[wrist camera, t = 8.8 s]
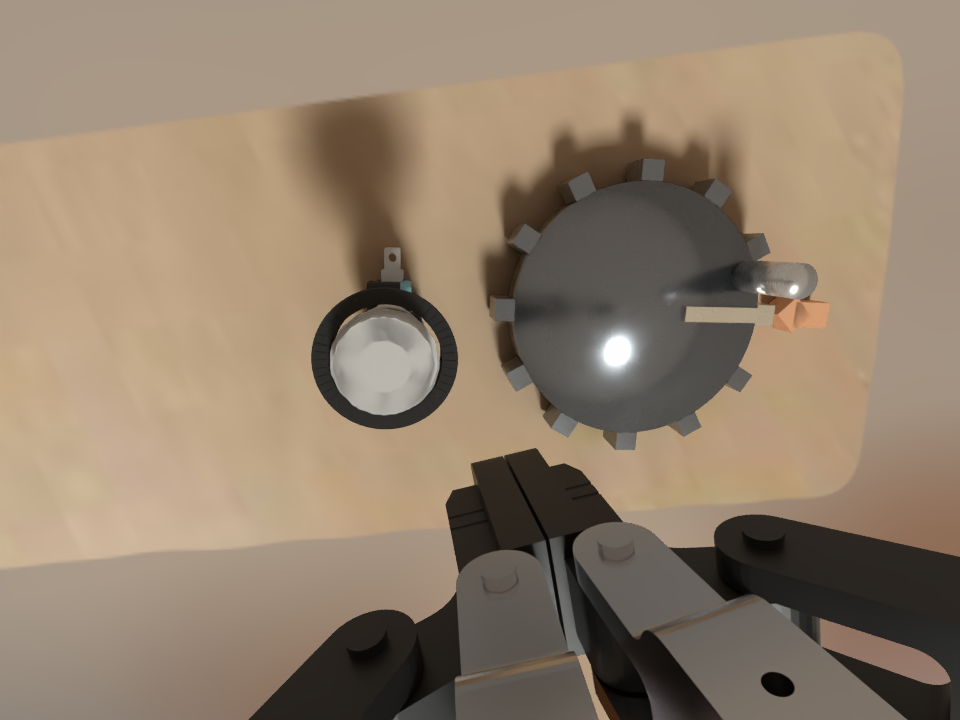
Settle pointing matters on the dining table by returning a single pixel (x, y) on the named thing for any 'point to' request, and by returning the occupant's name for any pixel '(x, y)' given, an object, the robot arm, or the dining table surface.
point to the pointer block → (799, 314)
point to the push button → (384, 354)
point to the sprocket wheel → (638, 303)
